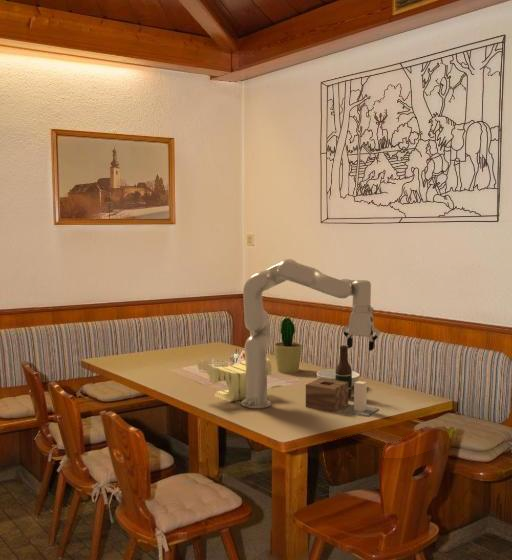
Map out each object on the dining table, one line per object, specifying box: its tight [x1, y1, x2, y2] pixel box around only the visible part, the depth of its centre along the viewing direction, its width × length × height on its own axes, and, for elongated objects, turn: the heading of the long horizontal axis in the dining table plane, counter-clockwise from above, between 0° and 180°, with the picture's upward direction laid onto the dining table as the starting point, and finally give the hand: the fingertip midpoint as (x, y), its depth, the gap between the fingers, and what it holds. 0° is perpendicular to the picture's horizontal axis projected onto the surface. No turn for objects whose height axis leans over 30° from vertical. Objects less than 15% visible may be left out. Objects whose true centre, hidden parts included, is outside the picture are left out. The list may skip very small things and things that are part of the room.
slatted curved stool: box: [197, 357, 272, 403], centre depth 304 cm, size 30×16×18 cm, turn 122°
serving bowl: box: [316, 368, 360, 387], centre depth 324 cm, size 21×21×7 cm
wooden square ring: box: [305, 378, 349, 412], centre depth 291 cm, size 14×14×10 cm
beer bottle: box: [335, 344, 353, 399], centre depth 305 cm, size 8×8×24 cm
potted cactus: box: [273, 317, 303, 374], centre depth 357 cm, size 15×15×30 cm
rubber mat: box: [341, 403, 380, 417], centre depth 283 cm, size 12×12×1 cm
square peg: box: [353, 380, 368, 412], centre depth 283 cm, size 4×4×12 cm
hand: (360, 348), depth 281 cm, fingers open, 9 cm apart
